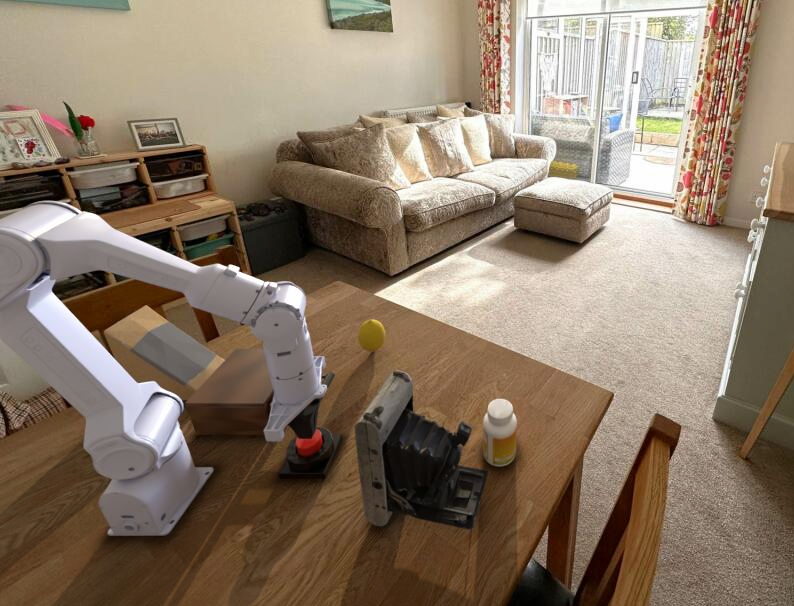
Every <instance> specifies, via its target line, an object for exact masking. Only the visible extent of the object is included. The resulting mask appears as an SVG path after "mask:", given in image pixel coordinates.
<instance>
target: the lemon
mask: <svg viewBox="0 0 794 606" xmlns="http://www.w3.org/2000/svg"><path fill="white" fill-rule="evenodd" d="M357 336H358V339H357V340H358V342H359V345H360V346H361V348H362V349H363V350H364V351H367V352H376V351H377V350H380V349H381V348H382V347H383V345H384V344H385V342H386V341H385V340H386V329H385V327H384V325H383V324H382V323H381V322H380V321H379V320H377V319H367V320H366V321H364V322H363V323H362V324H361V325H360V326H359V329H358V335H357Z"/></svg>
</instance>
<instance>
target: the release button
mask: <svg viewBox="0 0 794 606" xmlns="http://www.w3.org/2000/svg"><path fill="white" fill-rule="evenodd" d="M322 443H323V441H322V436H321V432H320V431H319V430H318V429H316V431H315V433H314V435H313V437H312V439H299V438H298V437H297V439H296V447H297V451H298V454H299V455H301V456H310V455H312V454H315V453H316V452H317V451H318V450H319V449H320V448H321V446H322Z"/></svg>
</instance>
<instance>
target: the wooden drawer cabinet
mask: <svg viewBox="0 0 794 606" xmlns="http://www.w3.org/2000/svg"><path fill="white" fill-rule="evenodd" d="M224 360H225V361H224V362H223V363H222V364H221V365H220V366H219V367H218V368H217V369H216V370H215V372H214V373H213V374H212V375H211V376H210V377H209V378H208V379H207V380H206V381H205V382H204V383H203V384H202V385H201V387H200V388H199V389H198V390H197V391H196V392H195V393H194V394H193V395H192V396H191V397H190V398H189V399H188V400H185V403H184V405H185V408H186V410H187V413H188V416H189V419H190V422H191V424H192V428H193V430H194V432H195V436H265V435H264V429H265V427H266V426H267V423H268V420H269V416H270V414H269V410H268V406H267V402H268V401H269V399H270V398H271V397H272V395H273V394H274V390H273V386H272V382H271V378H270V373H269V369H268V365H267V361H266V356H265V352H264V349H263V348H258V347H257V348H252V347H251V348H250V347H247V348H246V347H245V348H243V347H241V348H240V347H237V348H235V349H234V350H233V351H232V352H231V353H230V354H229V355H228V356H227V358H225V359H224Z"/></svg>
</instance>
